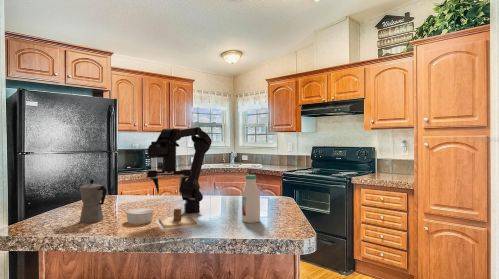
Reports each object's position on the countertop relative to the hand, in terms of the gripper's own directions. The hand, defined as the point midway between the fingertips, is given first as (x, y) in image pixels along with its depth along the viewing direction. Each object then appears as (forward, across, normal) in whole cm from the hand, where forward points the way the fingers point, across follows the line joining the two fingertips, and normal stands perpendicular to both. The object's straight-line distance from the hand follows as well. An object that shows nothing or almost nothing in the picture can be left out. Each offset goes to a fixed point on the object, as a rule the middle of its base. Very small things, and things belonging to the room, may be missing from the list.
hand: (169, 192), depth 136 cm
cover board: (+12, -2, +7) cm, 14 cm away
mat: (+12, -2, +7) cm, 14 cm away
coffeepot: (+12, +30, -13) cm, 35 cm away
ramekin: (+13, +12, -2) cm, 17 cm away
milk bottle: (+12, -33, +14) cm, 38 cm away
